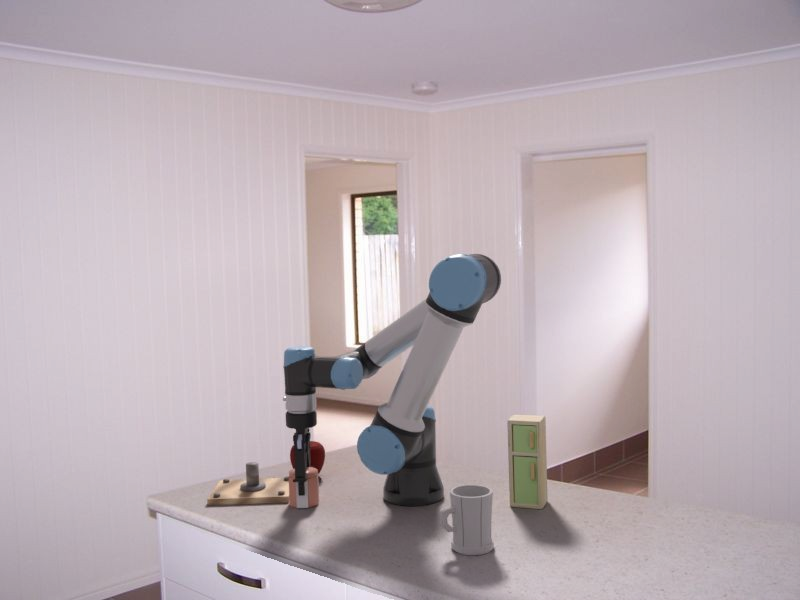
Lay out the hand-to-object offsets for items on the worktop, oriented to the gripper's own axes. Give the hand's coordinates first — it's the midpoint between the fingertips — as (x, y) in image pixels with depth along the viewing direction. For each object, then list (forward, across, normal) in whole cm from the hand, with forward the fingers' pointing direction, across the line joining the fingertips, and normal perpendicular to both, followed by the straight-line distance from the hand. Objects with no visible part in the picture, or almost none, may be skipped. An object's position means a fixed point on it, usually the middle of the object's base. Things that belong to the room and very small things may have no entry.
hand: (304, 501), depth 192 cm
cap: (0, 0, 0) cm, 0 cm away
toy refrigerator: (0, +7, +54) cm, 55 cm away
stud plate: (0, -9, -14) cm, 17 cm away
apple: (0, -22, -1) cm, 22 cm away
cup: (0, +33, +37) cm, 50 cm away
